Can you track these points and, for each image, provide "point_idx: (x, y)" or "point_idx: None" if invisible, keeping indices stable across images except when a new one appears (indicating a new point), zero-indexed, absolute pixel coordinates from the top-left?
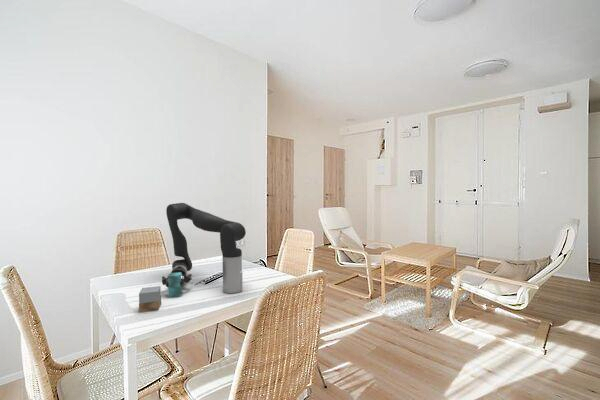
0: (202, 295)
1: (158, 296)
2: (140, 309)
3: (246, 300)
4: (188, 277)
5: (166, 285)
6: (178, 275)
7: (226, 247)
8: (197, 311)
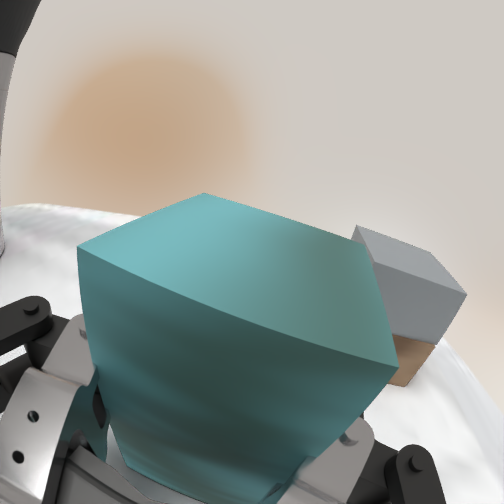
0: (60, 311)
1: None
2: None
3: (45, 204)
4: (22, 300)
5: None
6: (224, 201)
7: (32, 5)
8: None
